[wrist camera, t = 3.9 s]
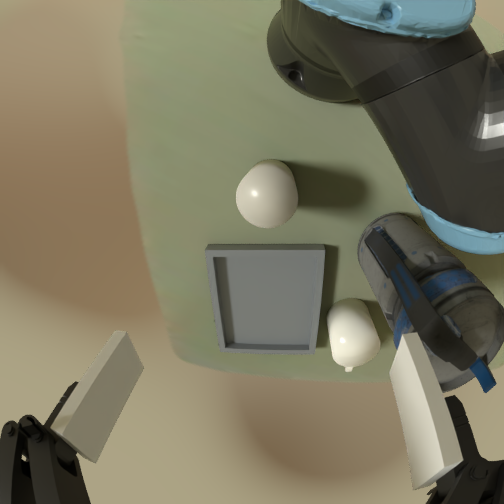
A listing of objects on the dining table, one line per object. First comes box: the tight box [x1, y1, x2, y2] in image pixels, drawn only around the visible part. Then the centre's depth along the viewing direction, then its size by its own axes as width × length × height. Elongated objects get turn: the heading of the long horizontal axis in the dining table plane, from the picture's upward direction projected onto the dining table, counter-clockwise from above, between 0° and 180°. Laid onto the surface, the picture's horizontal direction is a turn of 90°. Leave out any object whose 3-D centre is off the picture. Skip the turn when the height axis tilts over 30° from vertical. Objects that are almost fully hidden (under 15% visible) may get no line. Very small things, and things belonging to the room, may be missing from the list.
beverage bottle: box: [357, 213, 504, 393], centre depth 24 cm, size 10×13×25 cm
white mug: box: [326, 298, 380, 372], centre depth 38 cm, size 9×7×8 cm
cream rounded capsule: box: [236, 159, 298, 228], centre depth 30 cm, size 6×6×9 cm
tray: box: [205, 244, 325, 354], centre depth 41 cm, size 19×16×2 cm
